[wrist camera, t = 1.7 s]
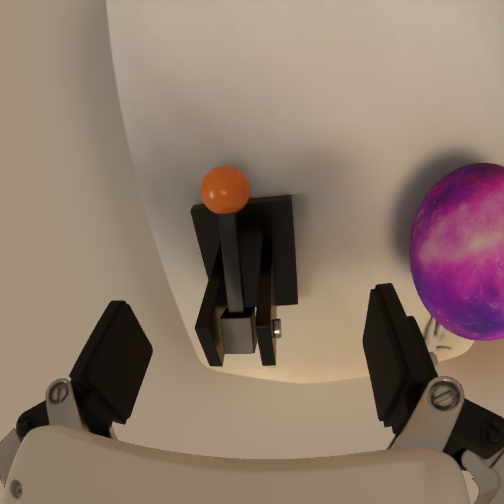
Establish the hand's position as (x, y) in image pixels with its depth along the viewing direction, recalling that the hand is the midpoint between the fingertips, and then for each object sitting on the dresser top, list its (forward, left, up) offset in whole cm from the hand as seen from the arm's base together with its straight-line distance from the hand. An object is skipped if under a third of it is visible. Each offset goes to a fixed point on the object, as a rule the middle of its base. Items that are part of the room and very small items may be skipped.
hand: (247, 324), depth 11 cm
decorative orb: (+11, +16, -17) cm, 26 cm away
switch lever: (+3, -3, -11) cm, 11 cm away
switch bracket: (+6, -5, -17) cm, 19 cm away
